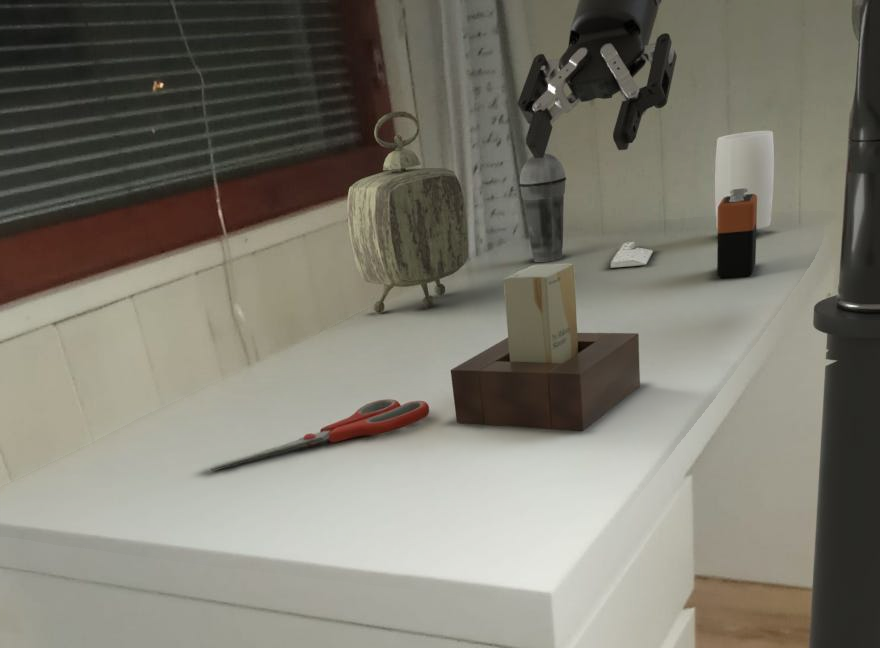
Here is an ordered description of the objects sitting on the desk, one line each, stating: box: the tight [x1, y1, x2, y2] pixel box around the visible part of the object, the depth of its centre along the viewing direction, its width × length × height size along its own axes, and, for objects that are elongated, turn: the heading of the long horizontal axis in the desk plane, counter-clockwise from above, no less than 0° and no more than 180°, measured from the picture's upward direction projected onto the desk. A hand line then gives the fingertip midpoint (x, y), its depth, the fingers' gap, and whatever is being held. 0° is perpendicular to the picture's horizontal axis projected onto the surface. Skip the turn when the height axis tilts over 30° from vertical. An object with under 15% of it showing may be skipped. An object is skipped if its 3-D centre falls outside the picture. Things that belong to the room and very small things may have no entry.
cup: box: [714, 130, 775, 231], centre depth 150 cm, size 8×8×14 cm
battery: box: [716, 188, 757, 279], centre depth 129 cm, size 4×7×10 cm, turn 159°
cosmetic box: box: [502, 263, 578, 363], centre depth 91 cm, size 6×4×12 cm
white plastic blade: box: [610, 241, 654, 269], centre depth 150 cm, size 5×15×1 cm, turn 161°
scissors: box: [210, 398, 430, 471], centre depth 92 cm, size 8×21×2 cm, turn 126°
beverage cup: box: [518, 153, 567, 263], centre depth 155 cm, size 7×7×20 cm
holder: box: [450, 332, 641, 432], centre depth 92 cm, size 13×13×5 cm
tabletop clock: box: [346, 111, 469, 314], centre depth 135 cm, size 14×9×25 cm, turn 123°
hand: (576, 148), depth 92 cm, fingers open, 8 cm apart
